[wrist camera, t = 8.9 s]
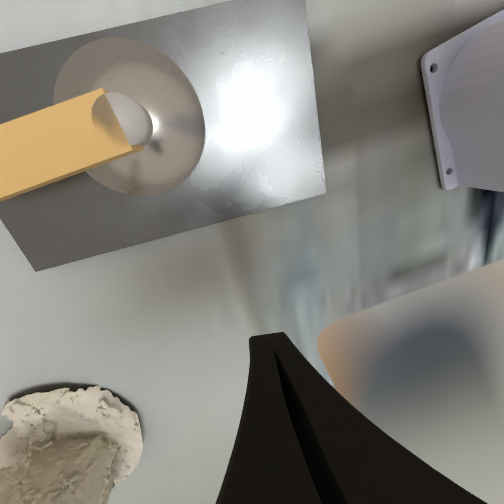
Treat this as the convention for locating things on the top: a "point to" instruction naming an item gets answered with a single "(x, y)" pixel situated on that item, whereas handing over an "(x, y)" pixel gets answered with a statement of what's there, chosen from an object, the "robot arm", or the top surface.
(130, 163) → the silver metal slab
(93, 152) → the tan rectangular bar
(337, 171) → the top surface
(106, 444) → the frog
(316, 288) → the top surface
